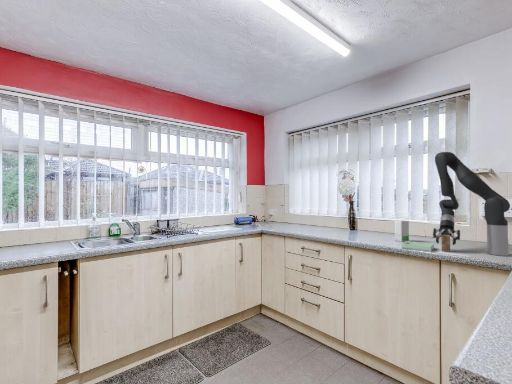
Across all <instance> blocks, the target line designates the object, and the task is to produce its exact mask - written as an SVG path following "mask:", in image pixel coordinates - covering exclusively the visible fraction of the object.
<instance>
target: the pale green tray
mask: <svg viewBox="0 0 512 384" xmlns="http://www.w3.org/2000/svg"><path fill="white" fill-rule="evenodd" d="M401 249H402V250H403V249H404V250H411V251H412V250H413V251H421V252H429V251H430V253H431V252H432V251H433V250H434V249H435V243H430V242H419V241H410V240H409V241H406V242H403V243H402V242H401Z"/></svg>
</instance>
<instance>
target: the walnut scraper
mask: <svg viewBox="0 0 512 384" xmlns="http://www.w3.org/2000/svg"><path fill="white" fill-rule="evenodd" d="M443 251H444V252H445V253H451V236H450V235H443V234H442V237H441V252H443ZM444 252H443V253H444Z"/></svg>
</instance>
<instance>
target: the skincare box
mask: <svg viewBox="0 0 512 384" xmlns="http://www.w3.org/2000/svg"><path fill="white" fill-rule="evenodd" d="M409 223H410V222H409V220H399V219H398V220H394V241H395V242H401V243H402V242H403V243H404V242H406V241H410V229H409V228H410V227H409V225H410V224H409Z"/></svg>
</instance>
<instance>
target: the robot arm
mask: <svg viewBox="0 0 512 384" xmlns="http://www.w3.org/2000/svg"><path fill="white" fill-rule="evenodd" d="M434 163H435V166H436V169H437V173H438V174H437V175H438V176H439V182H440V189H441V196H443V197H448V198H450V199H441V200H440V201H439V208H440V210H441V217H440V223H439V228H435V227H434V228H433V231H432V236H433V239H435V243H436V244H439V242H440V238H442V234H443V235H450V239H452V246H455V245H456V244H457V240H458V241H460V239H461V230H460V229H458V230H455V223H456V221H455V211H454V210H458V209H459V206H460V205H459V202H458V199H457V198H456V195H455V190H454V189H455V188H454V187H455V185H454V183H453V180H452V178H451V176H450V174H449V171H448V168H449V169H451V170H452V171H453V172H454V173H455V175H456V178H457V180H458V181H459V183H460V184H461V185H462V186H463V187H465V188H466V189H467V190H468V191H470V192H472V193H473V194H475V195H477V196H479V197H481V198H482V199H483V201H485V202H484V205H483V207H484V219H485V221H486V254H488V255H493V256H500V257H501V256H502V257H505V256H506V257H509V255H510V254H509V252H510V250H509V226H508V225H509V224H508V223H509V222H508V220H507V219H506V218H505V213H507V212H508V211H509V210H510V208H511V204H510V201H509V200H508V199H506V198H505V197H503V196H502V195H501V194H500V193H498V192H497V191H495V189H492V188H491V187H490V186H489V185H488V184H487V183H486V182H485V181H484V180H482V179H481V177H479V176H478V175H477V174H476V173H475V172H473V170H472V169H470V168H469V167H468V166H467V165H466V164H464V163H463V162H462V161H461V160H460V159H459V158H458V157H457V155H455V153H453V152H451V151H440V152H437V153H436V154H435V156H434ZM455 234H456V235H457V236H456V235H455Z"/></svg>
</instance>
